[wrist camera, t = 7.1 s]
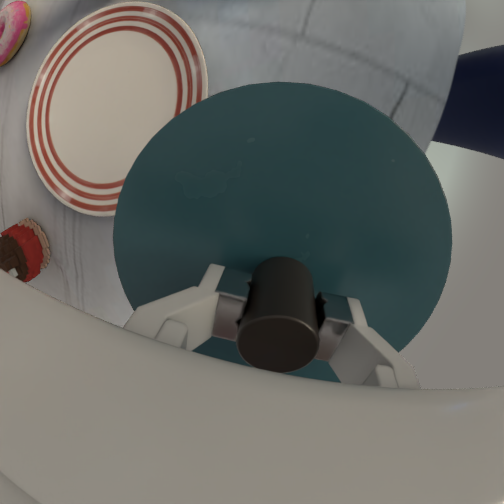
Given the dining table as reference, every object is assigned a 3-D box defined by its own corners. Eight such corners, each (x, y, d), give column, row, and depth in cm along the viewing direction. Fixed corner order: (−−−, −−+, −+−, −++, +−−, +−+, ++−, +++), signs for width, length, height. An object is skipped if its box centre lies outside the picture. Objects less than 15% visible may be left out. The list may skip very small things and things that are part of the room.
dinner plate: (130, -22, 18) (118, -30, 15) (266, 104, 26) (264, 101, 23) (21, 122, 28) (6, 125, 25) (112, 246, 36) (100, 257, 33)
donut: (-4, 33, 19) (-21, 33, 15) (36, -11, 16) (18, -15, 12) (-3, 81, 24) (-22, 84, 20) (37, 36, 21) (16, 34, 17)
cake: (41, 210, 34) (-40, 261, 18) (61, 261, 38) (-9, 324, 22) (14, 224, 37) (-53, 269, 20) (32, 268, 40) (-28, 321, 24)
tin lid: (480, 269, 10) (527, 324, 6) (278, 405, 16) (272, 466, 12) (274, 15, 7) (264, -49, 3) (85, 263, 13) (32, 312, 9)
